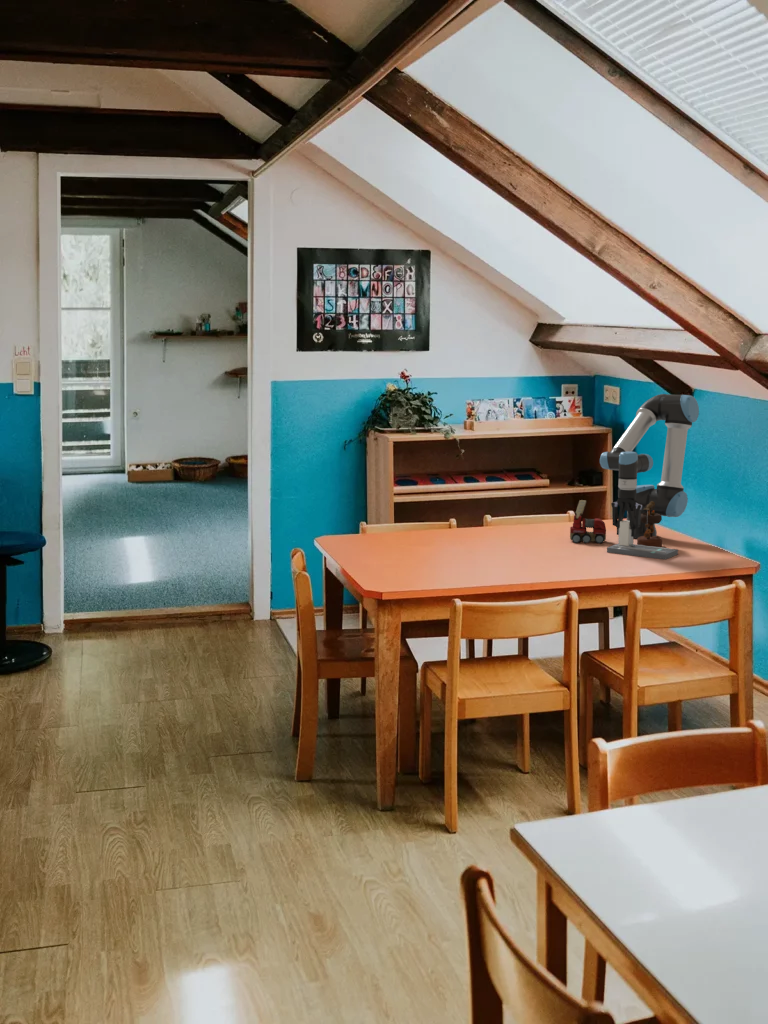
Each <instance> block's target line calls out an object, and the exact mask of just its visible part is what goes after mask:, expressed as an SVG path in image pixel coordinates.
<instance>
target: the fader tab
mask: <svg viewBox="0 0 768 1024" xmlns="http://www.w3.org/2000/svg"><path fill="white" fill-rule="evenodd" d="M630 528H631V525H630V521H628V520H627V519H623V521H620V538H619V537H618V539H619V544H618V543H617V544H618V546H624V547H631V546H634V544H635V543H633V544H631V545H630V544H629V529H630Z"/></svg>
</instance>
